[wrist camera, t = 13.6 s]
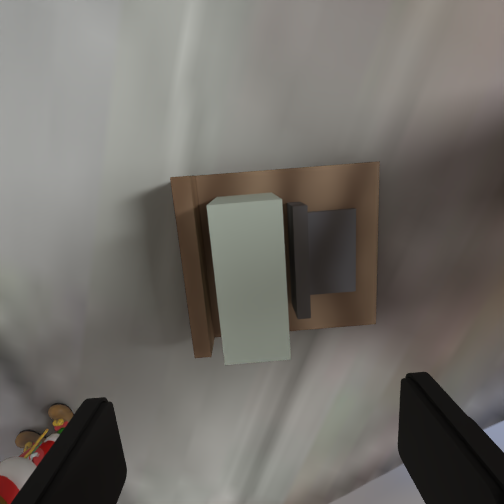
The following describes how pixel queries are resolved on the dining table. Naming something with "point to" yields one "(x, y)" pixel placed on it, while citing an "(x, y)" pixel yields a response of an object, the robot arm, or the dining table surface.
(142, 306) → the dining table surface
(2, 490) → the santa figurine
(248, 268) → the pale green block
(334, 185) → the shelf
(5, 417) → the dining table surface
